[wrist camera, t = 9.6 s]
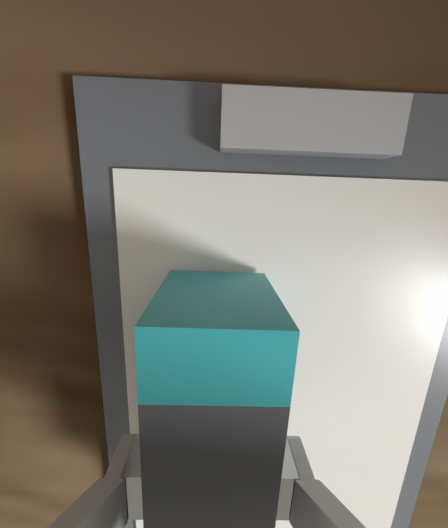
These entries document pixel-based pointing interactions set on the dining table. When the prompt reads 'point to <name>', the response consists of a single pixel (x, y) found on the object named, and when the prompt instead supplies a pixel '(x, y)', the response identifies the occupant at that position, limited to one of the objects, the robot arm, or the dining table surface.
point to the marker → (213, 400)
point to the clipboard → (285, 253)
